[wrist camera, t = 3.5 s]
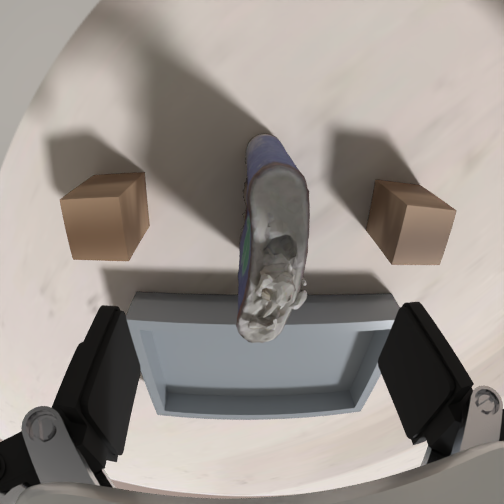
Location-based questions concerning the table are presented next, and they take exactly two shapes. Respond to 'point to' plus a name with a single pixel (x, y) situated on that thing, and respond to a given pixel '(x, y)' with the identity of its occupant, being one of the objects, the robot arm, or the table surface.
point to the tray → (259, 356)
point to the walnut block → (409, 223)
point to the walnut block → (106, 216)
